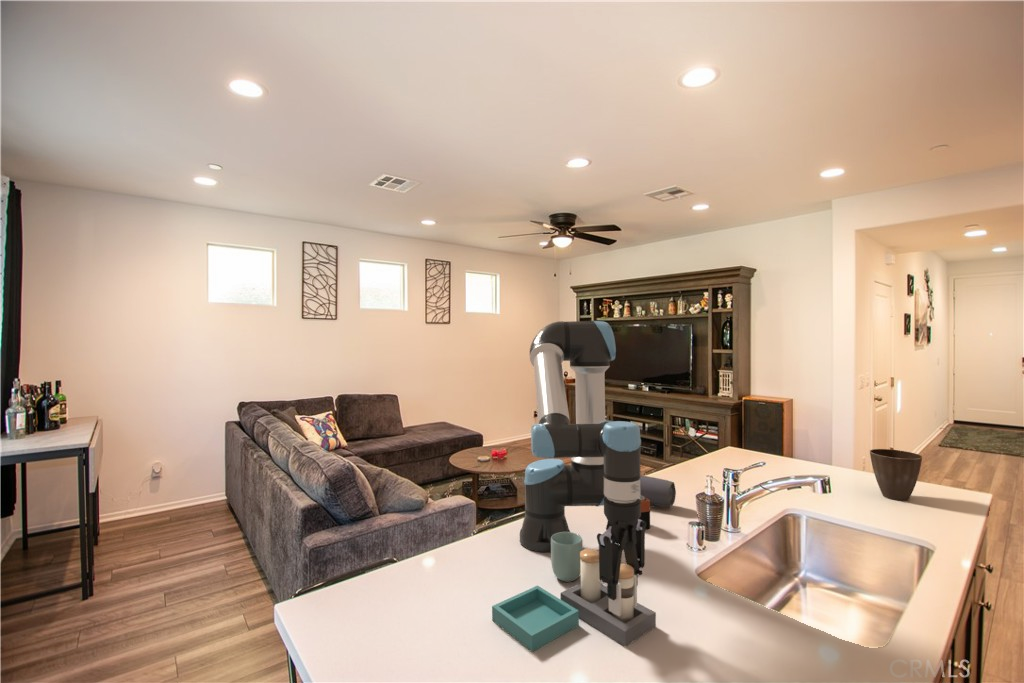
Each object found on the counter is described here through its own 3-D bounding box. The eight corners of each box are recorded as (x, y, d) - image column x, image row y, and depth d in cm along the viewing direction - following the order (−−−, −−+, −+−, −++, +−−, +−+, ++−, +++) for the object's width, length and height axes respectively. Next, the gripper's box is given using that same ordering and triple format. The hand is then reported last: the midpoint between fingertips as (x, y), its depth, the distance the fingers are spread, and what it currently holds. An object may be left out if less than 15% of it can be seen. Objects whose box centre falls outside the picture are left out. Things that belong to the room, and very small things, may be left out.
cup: (562, 588, 114) (562, 547, 114) (545, 574, 121) (545, 535, 121) (588, 580, 118) (588, 540, 118) (570, 567, 125) (570, 529, 125)
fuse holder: (560, 606, 107) (560, 592, 107) (590, 590, 113) (590, 578, 113) (625, 646, 93) (625, 631, 93) (655, 626, 99) (655, 612, 99)
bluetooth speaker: (605, 501, 173) (605, 473, 173) (615, 493, 181) (615, 467, 181) (668, 514, 160) (668, 484, 160) (676, 505, 168) (676, 477, 168)
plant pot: (859, 491, 180) (859, 449, 180) (895, 489, 182) (895, 447, 181) (895, 505, 165) (895, 459, 165) (933, 503, 167) (934, 458, 167)
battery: (639, 521, 155) (638, 490, 154) (650, 529, 148) (650, 497, 148) (627, 522, 153) (626, 491, 153) (638, 531, 147) (638, 498, 147)
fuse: (576, 606, 107) (575, 553, 107) (590, 598, 110) (589, 547, 110) (591, 615, 104) (591, 560, 103) (605, 607, 106) (605, 554, 106)
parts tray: (492, 620, 102) (492, 606, 102) (537, 598, 110) (537, 585, 110) (532, 651, 92) (531, 635, 92) (578, 625, 100) (578, 610, 100)
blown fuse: (607, 624, 100) (606, 568, 100) (621, 616, 103) (620, 561, 103) (624, 635, 97) (624, 576, 96) (638, 626, 99) (638, 569, 99)
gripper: (608, 512, 91) (609, 633, 91) (662, 492, 102) (663, 600, 102) (579, 502, 97) (580, 615, 97) (633, 484, 108) (634, 586, 108)
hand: (622, 607), depth 100 cm, fingers closed on blown fuse, 4 cm apart
